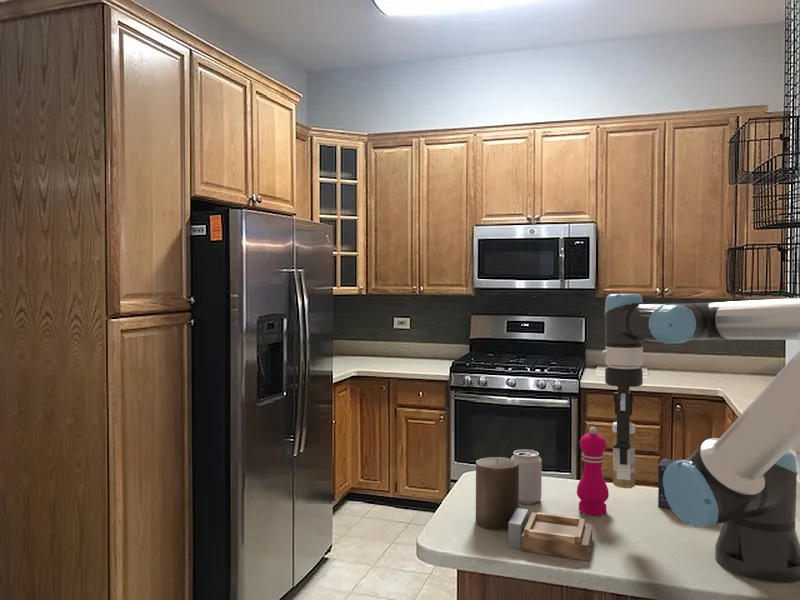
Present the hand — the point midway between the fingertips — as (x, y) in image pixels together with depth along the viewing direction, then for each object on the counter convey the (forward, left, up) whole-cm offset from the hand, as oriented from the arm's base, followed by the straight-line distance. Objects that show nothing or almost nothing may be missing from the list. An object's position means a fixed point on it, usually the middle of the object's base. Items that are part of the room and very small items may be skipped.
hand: (623, 475), depth 136 cm
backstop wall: (+21, +10, -13) cm, 26 cm away
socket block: (+13, +10, -13) cm, 21 cm away
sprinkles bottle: (0, 0, -2) cm, 2 cm away
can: (+23, -14, -13) cm, 30 cm away
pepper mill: (+7, -12, -13) cm, 19 cm away
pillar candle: (+27, +2, -13) cm, 30 cm away
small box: (-13, -22, -13) cm, 29 cm away
